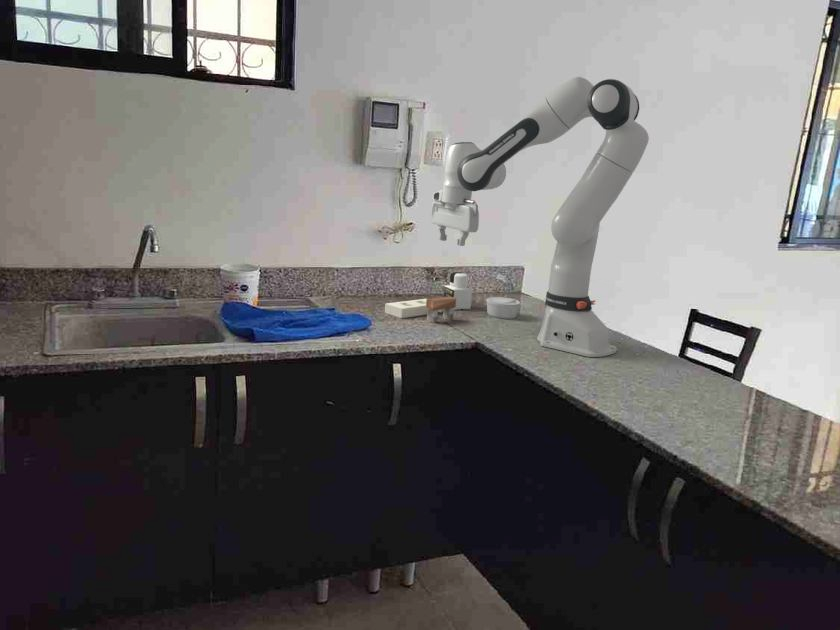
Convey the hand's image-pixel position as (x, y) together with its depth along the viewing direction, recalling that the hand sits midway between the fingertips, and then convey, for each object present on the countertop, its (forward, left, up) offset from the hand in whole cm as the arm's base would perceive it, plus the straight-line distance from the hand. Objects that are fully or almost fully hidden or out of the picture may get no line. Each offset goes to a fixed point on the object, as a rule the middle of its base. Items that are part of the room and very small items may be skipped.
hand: (451, 242), depth 203 cm
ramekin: (-5, -22, -25) cm, 33 cm away
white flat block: (+12, +2, -24) cm, 27 cm away
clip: (0, +2, -24) cm, 24 cm away
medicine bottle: (+11, -17, -24) cm, 32 cm away
